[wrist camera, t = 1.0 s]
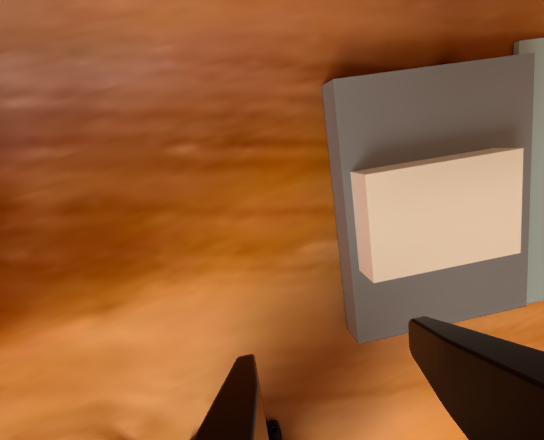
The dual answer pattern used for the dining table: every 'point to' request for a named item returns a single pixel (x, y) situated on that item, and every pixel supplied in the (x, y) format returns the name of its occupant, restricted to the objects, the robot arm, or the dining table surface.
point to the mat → (536, 174)
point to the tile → (438, 212)
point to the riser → (419, 146)
